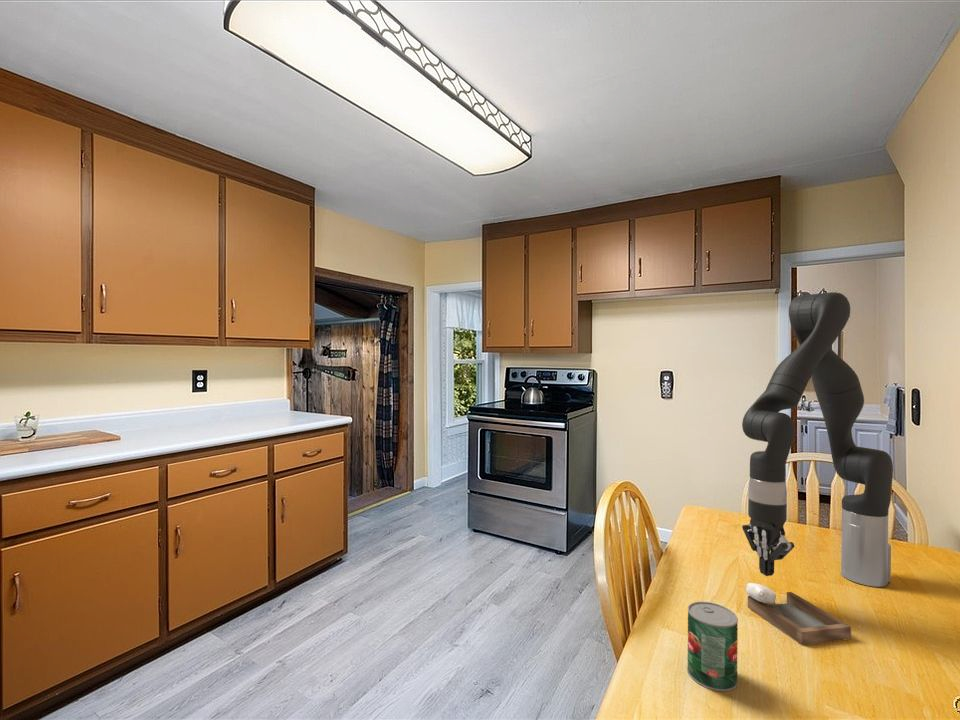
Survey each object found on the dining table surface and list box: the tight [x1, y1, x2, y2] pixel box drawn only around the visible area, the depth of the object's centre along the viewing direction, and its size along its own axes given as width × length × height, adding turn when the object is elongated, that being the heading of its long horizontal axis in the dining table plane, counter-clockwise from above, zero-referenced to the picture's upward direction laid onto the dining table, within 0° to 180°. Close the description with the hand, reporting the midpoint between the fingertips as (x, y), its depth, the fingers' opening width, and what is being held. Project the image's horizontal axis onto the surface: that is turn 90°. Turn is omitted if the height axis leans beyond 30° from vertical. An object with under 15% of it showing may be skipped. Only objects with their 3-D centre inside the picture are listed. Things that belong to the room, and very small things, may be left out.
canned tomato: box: [686, 601, 739, 692], centre depth 83 cm, size 8×8×11 cm
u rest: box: [747, 591, 852, 646], centre depth 100 cm, size 11×14×2 cm
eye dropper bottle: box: [745, 582, 777, 605], centre depth 104 cm, size 4×6×12 cm
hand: (766, 574), depth 108 cm, fingers closed
